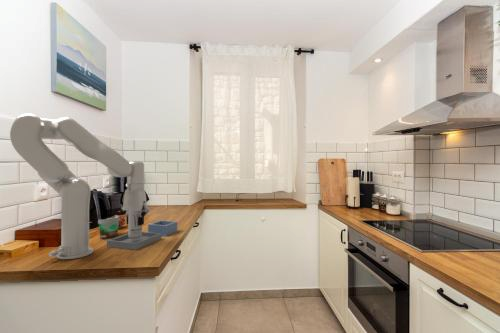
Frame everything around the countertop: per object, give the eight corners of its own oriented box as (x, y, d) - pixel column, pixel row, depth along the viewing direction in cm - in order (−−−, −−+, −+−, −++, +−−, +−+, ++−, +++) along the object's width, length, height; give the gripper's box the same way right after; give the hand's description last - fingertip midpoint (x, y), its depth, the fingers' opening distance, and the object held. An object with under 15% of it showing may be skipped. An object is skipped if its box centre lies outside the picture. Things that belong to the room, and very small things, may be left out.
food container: (108, 240, 126) (108, 220, 126) (97, 239, 127) (97, 219, 127) (125, 233, 138) (125, 215, 138) (115, 233, 139) (115, 215, 139)
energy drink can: (131, 240, 118) (132, 208, 118) (126, 237, 122) (126, 206, 122) (144, 237, 123) (144, 206, 123) (138, 235, 126) (138, 205, 126)
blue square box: (165, 236, 133) (165, 225, 133) (148, 234, 136) (148, 224, 136) (177, 231, 144) (177, 221, 144) (160, 229, 147) (160, 220, 147)
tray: (136, 250, 111) (136, 243, 111) (106, 246, 116) (106, 240, 116) (161, 238, 129) (161, 233, 129) (135, 236, 133) (135, 230, 133)
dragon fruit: (124, 228, 156) (111, 236, 144) (113, 220, 156) (99, 227, 144) (131, 218, 154) (118, 225, 142) (119, 209, 154) (106, 216, 142)
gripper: (114, 187, 121) (114, 224, 121) (145, 188, 116) (145, 227, 116) (126, 186, 128) (126, 221, 128) (155, 187, 123) (155, 224, 123)
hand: (135, 224), depth 122 cm, fingers closed on energy drink can, 6 cm apart
